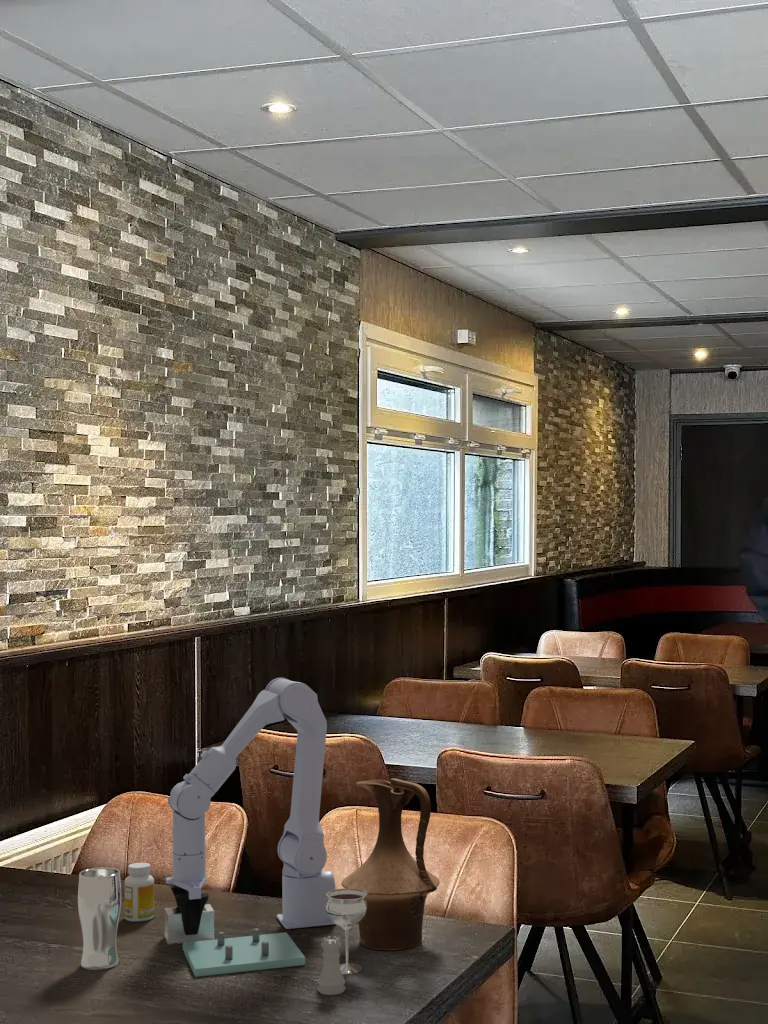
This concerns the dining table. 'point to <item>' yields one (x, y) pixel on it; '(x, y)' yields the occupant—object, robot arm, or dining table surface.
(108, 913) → the beer glass
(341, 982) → the rook chess piece
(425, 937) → the dining table surface
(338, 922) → the wineglass
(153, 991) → the dining table surface
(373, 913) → the pitcher
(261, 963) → the pin tray
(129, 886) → the supplement bottle
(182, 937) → the block
